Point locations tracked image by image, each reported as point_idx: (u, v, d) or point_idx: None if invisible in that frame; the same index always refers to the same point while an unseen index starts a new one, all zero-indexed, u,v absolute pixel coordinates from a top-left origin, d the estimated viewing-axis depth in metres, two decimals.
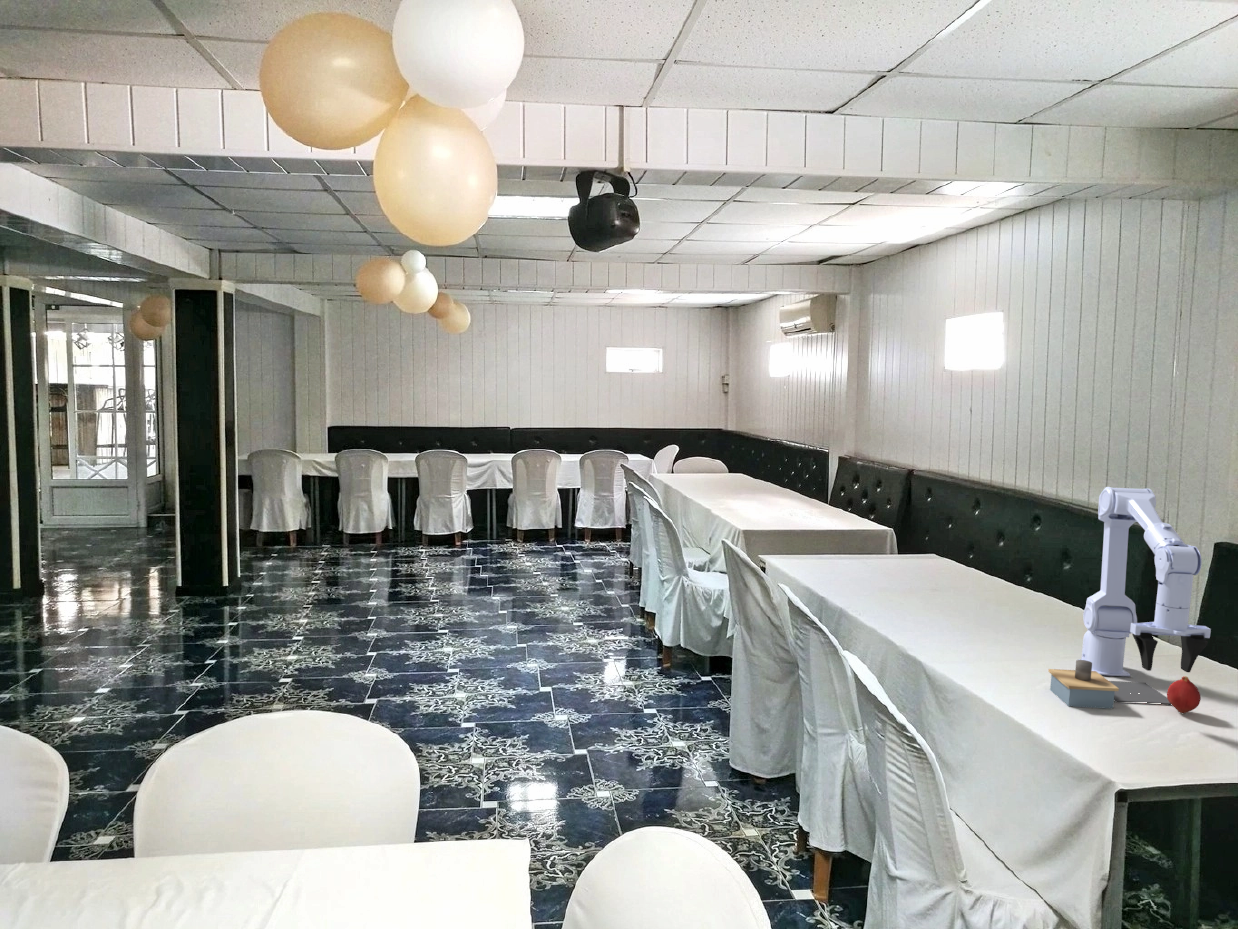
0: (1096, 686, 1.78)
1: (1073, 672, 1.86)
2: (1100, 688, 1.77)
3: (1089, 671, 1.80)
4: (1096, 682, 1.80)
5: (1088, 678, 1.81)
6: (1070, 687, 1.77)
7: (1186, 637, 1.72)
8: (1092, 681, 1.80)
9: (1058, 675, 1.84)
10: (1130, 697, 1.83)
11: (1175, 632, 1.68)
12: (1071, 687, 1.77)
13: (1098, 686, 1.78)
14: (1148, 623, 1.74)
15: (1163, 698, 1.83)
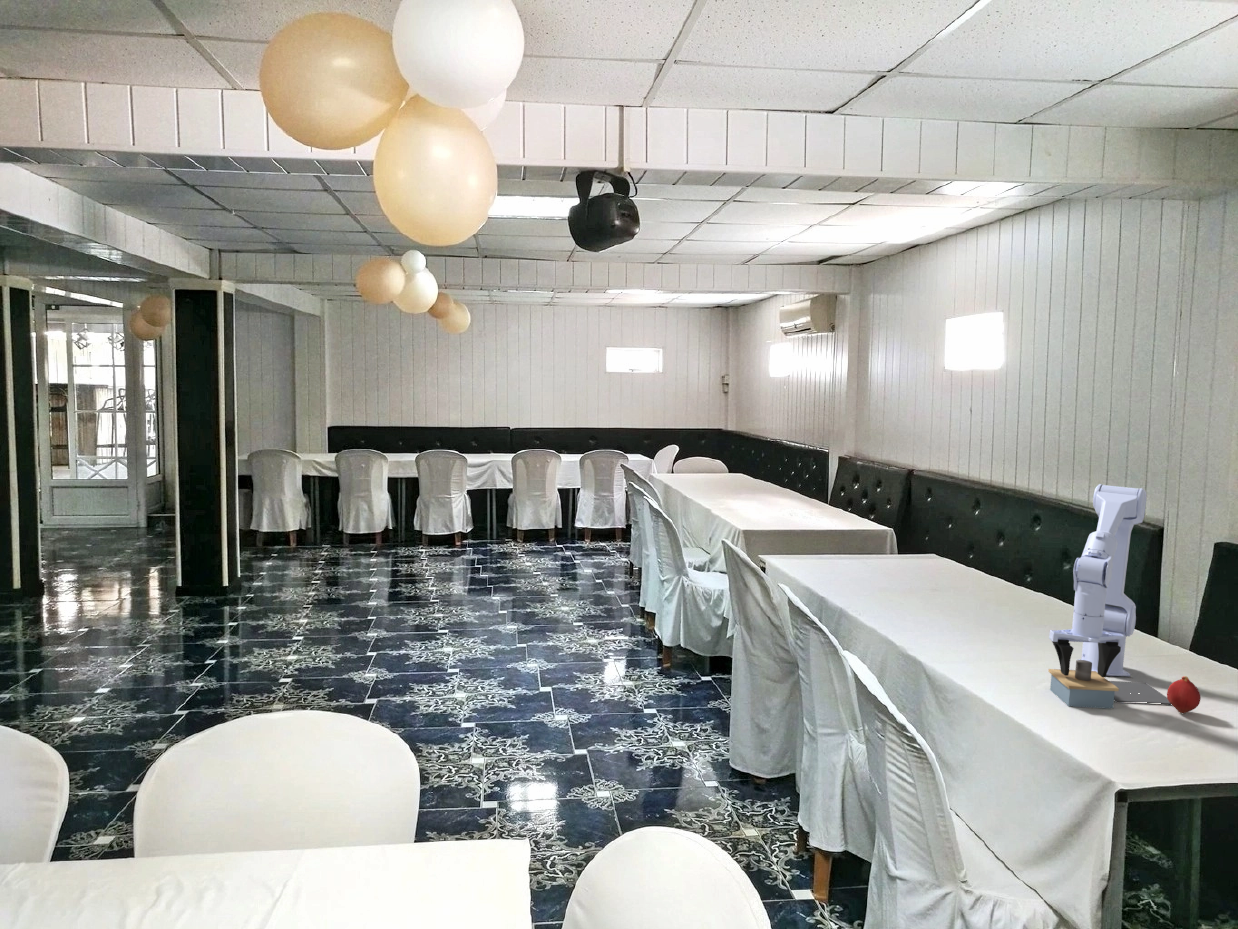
0: (1096, 686, 1.78)
1: (1073, 672, 1.86)
2: (1100, 688, 1.77)
3: (1089, 671, 1.80)
4: (1096, 682, 1.80)
5: (1088, 678, 1.81)
6: (1070, 687, 1.77)
7: (1102, 644, 1.81)
8: (1092, 681, 1.80)
9: (1058, 675, 1.84)
10: (1130, 697, 1.83)
11: (1089, 639, 1.77)
12: (1071, 687, 1.77)
13: (1098, 686, 1.78)
14: (1066, 630, 1.83)
15: (1163, 698, 1.83)
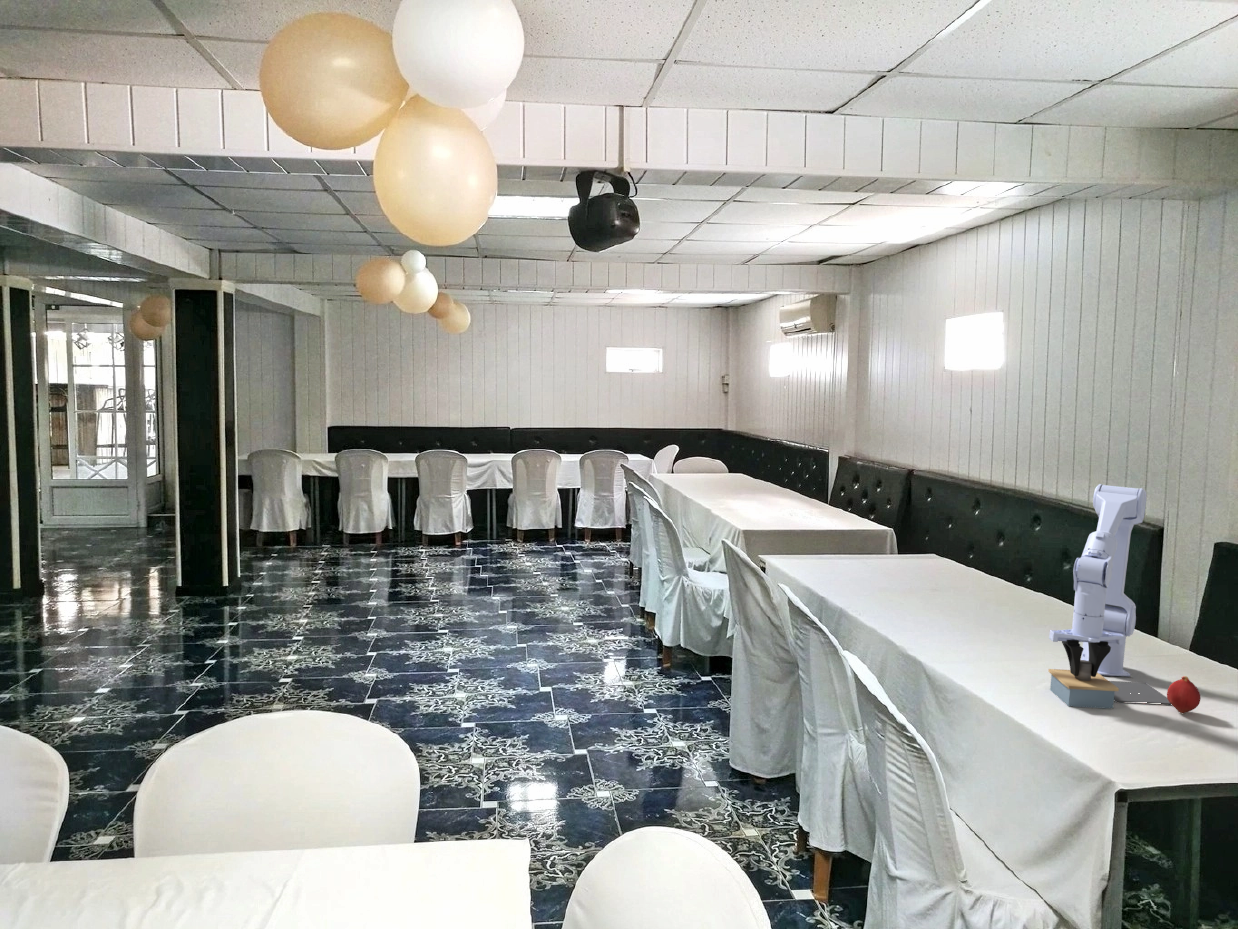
0: (1096, 686, 1.78)
1: None
2: (1100, 688, 1.77)
3: (1089, 671, 1.80)
4: (1096, 682, 1.80)
5: (1088, 678, 1.81)
6: (1070, 687, 1.77)
7: (1092, 643, 1.82)
8: (1092, 681, 1.80)
9: (1058, 675, 1.84)
10: (1130, 697, 1.83)
11: (1089, 639, 1.77)
12: (1071, 687, 1.77)
13: (1098, 686, 1.78)
14: (1066, 630, 1.83)
15: (1163, 698, 1.83)
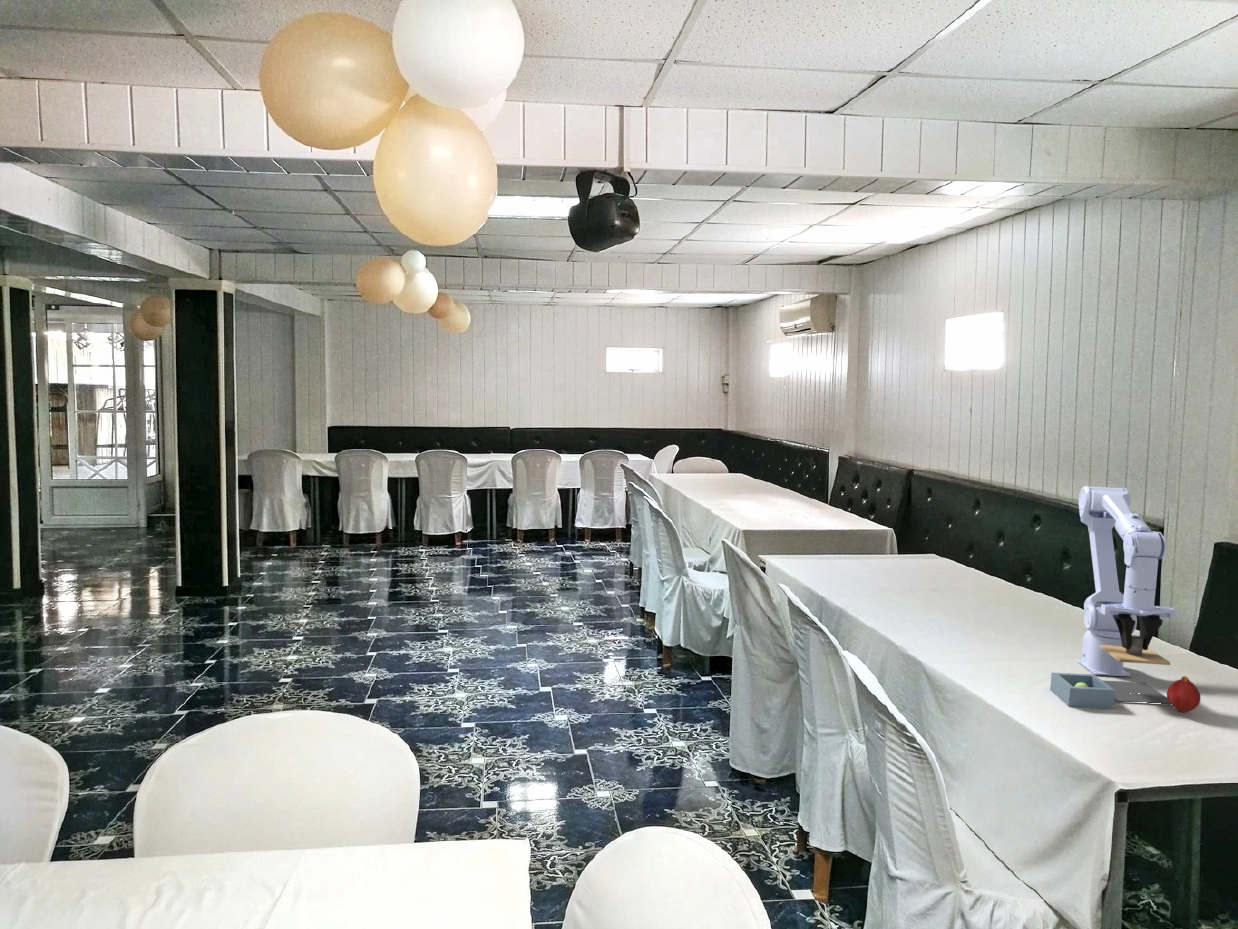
0: (1147, 660, 1.80)
1: None
2: (1151, 662, 1.80)
3: (1140, 645, 1.83)
4: (1148, 656, 1.82)
5: (1139, 652, 1.83)
6: (1121, 660, 1.80)
7: (1143, 617, 1.85)
8: (1144, 656, 1.83)
9: (1109, 650, 1.87)
10: (1130, 697, 1.83)
11: (1141, 612, 1.80)
12: (1122, 660, 1.80)
13: (1149, 660, 1.80)
14: (1117, 604, 1.86)
15: (1163, 698, 1.83)
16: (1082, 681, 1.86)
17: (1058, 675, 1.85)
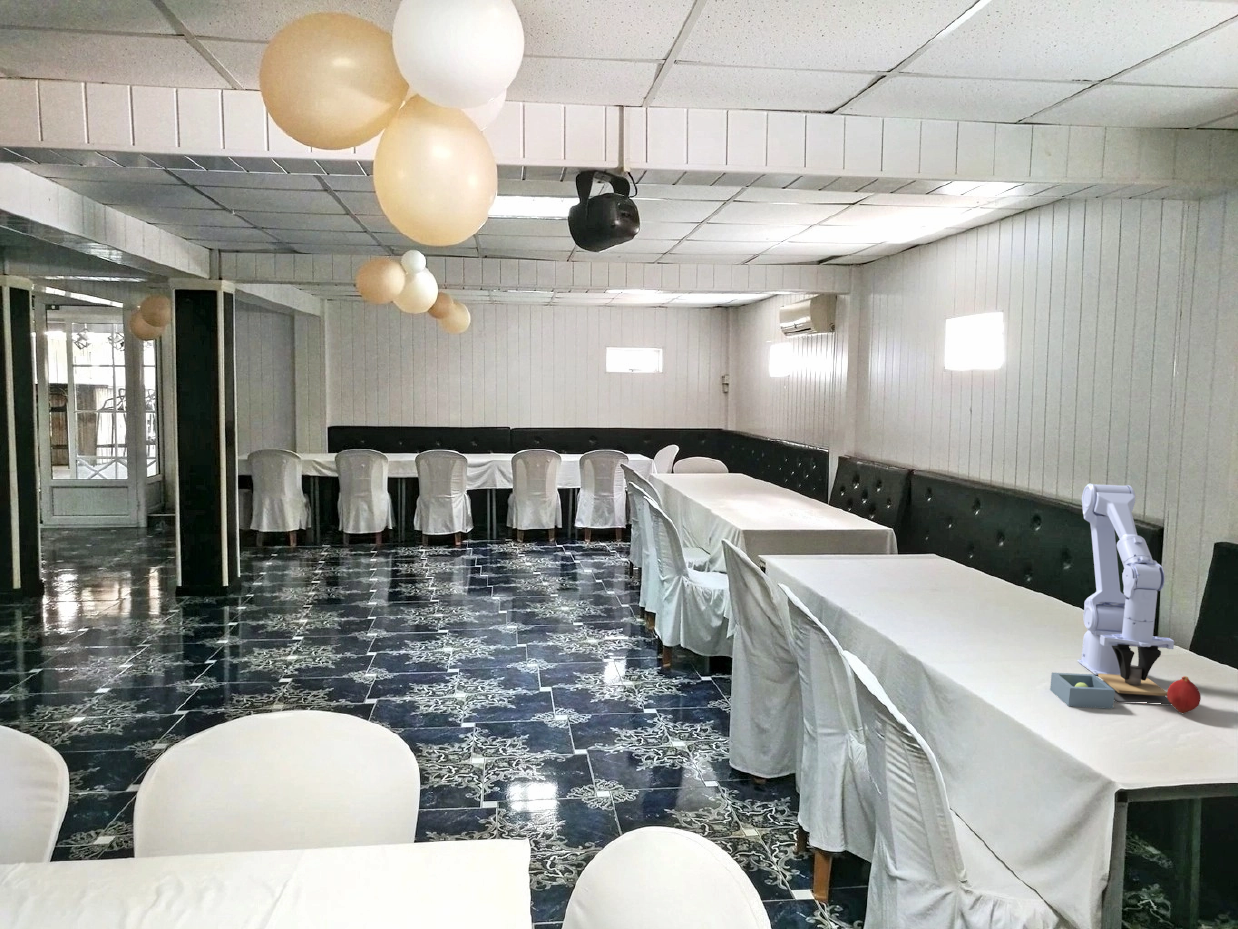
0: (1146, 691, 1.82)
1: None
2: (1150, 693, 1.81)
3: (1139, 676, 1.85)
4: (1146, 687, 1.84)
5: (1138, 683, 1.85)
6: (1120, 691, 1.82)
7: (1142, 648, 1.86)
8: (1142, 686, 1.84)
9: (1108, 679, 1.88)
10: (1130, 697, 1.83)
11: (1140, 643, 1.82)
12: (1121, 691, 1.82)
13: (1148, 691, 1.82)
14: (1116, 635, 1.87)
15: (1163, 698, 1.83)
16: (1082, 681, 1.86)
17: (1058, 675, 1.85)
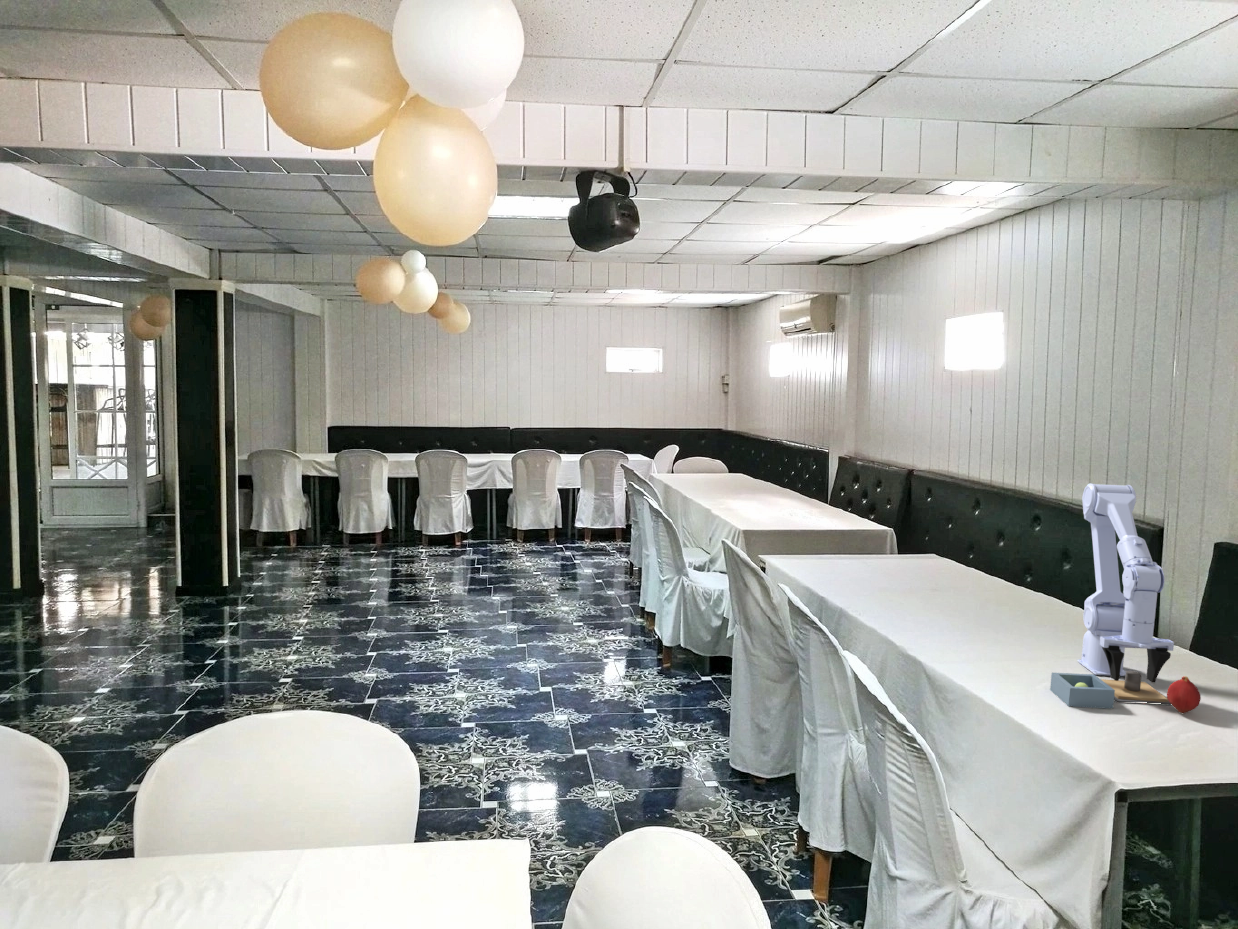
0: (1145, 697, 1.82)
1: (1122, 682, 1.90)
2: (1149, 699, 1.81)
3: (1138, 682, 1.85)
4: (1145, 693, 1.84)
5: (1137, 689, 1.85)
6: (1119, 697, 1.82)
7: (1151, 650, 1.86)
8: (1142, 692, 1.85)
9: None
10: None
11: (1140, 645, 1.82)
12: (1120, 697, 1.82)
13: (1147, 697, 1.82)
14: (1116, 636, 1.87)
15: None
16: (1082, 681, 1.86)
17: (1058, 675, 1.85)
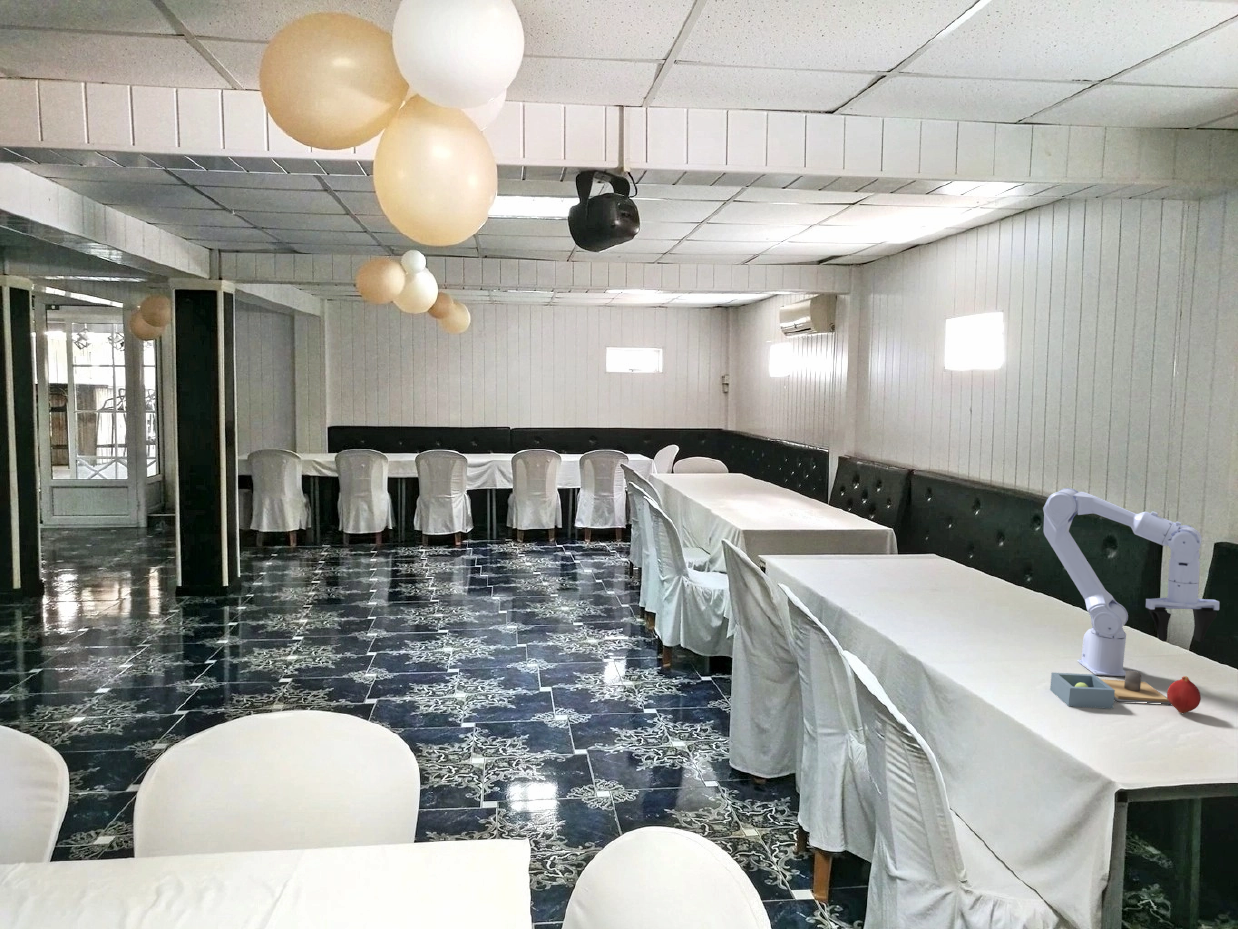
0: (1145, 697, 1.82)
1: (1122, 682, 1.90)
2: (1149, 699, 1.81)
3: (1138, 682, 1.85)
4: (1145, 693, 1.84)
5: (1137, 689, 1.85)
6: (1119, 697, 1.82)
7: (1197, 610, 1.90)
8: (1142, 692, 1.85)
9: None
10: None
11: (1186, 605, 1.86)
12: (1120, 697, 1.82)
13: (1147, 697, 1.82)
14: (1162, 599, 1.92)
15: None
16: (1082, 681, 1.86)
17: (1058, 675, 1.85)
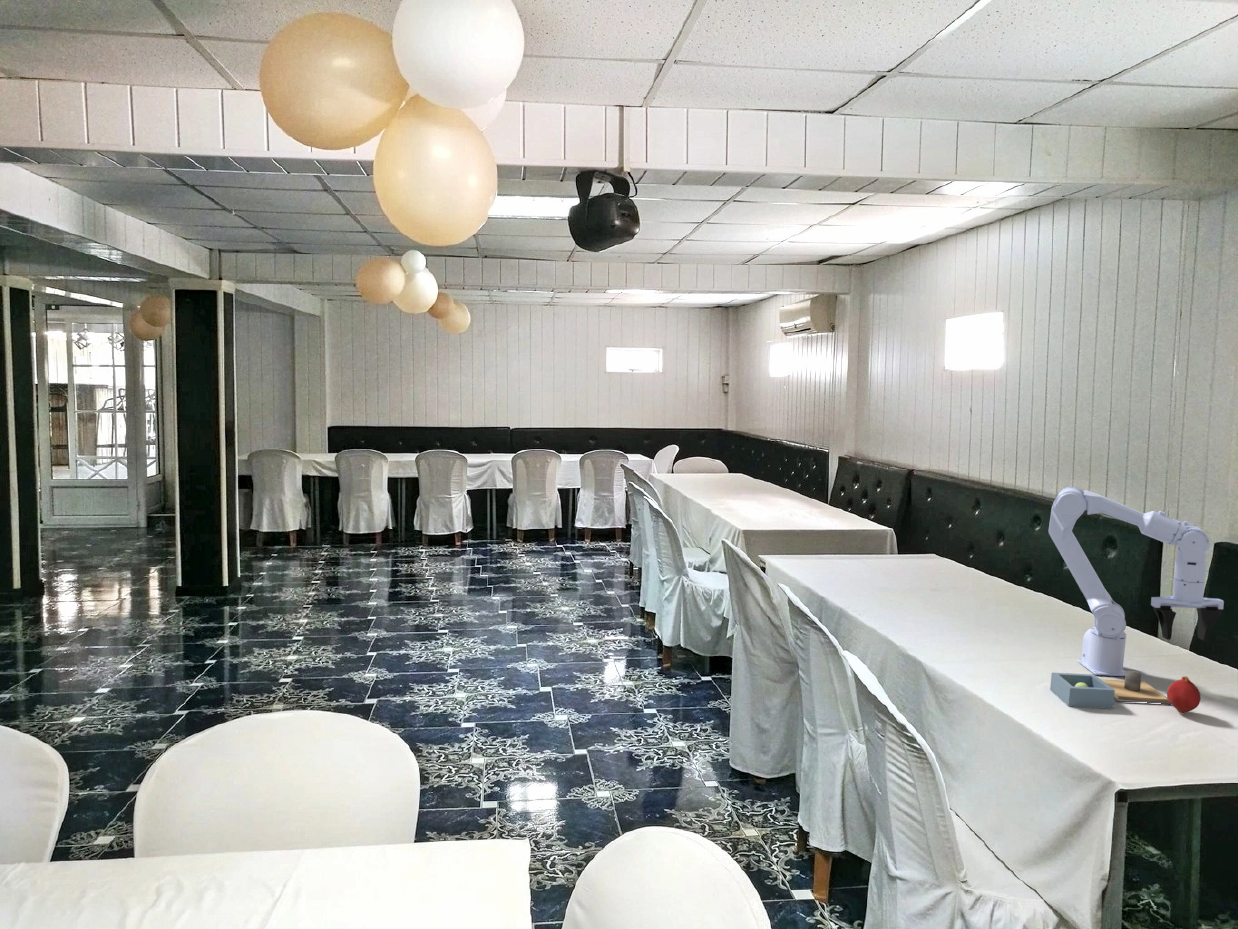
0: (1145, 697, 1.82)
1: (1122, 682, 1.90)
2: (1149, 699, 1.81)
3: (1138, 682, 1.85)
4: (1145, 693, 1.84)
5: (1137, 689, 1.85)
6: (1119, 697, 1.82)
7: (1202, 609, 1.92)
8: (1142, 692, 1.85)
9: None
10: None
11: (1191, 604, 1.88)
12: (1120, 697, 1.82)
13: (1147, 697, 1.82)
14: (1167, 597, 1.93)
15: None
16: (1082, 681, 1.86)
17: (1058, 675, 1.85)
